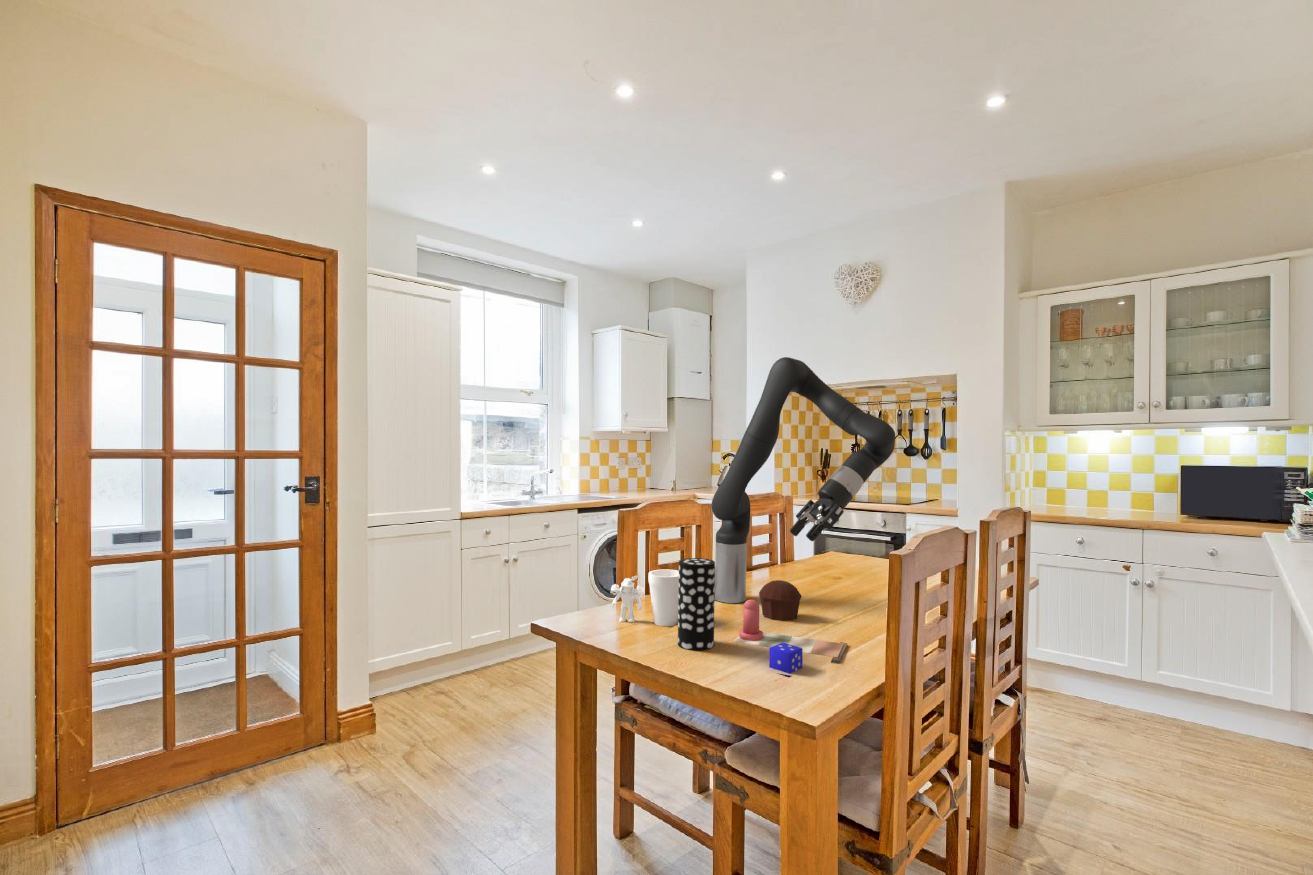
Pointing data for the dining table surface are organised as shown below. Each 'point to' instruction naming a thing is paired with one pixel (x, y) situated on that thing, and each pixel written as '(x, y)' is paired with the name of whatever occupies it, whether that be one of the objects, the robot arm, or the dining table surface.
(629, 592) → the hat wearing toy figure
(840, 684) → the dining table surface
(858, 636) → the dining table surface
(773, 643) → the game track
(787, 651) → the die
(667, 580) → the foam cup
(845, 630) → the dining table surface
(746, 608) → the pawn
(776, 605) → the muffin
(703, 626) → the white-spotted black cylinder
